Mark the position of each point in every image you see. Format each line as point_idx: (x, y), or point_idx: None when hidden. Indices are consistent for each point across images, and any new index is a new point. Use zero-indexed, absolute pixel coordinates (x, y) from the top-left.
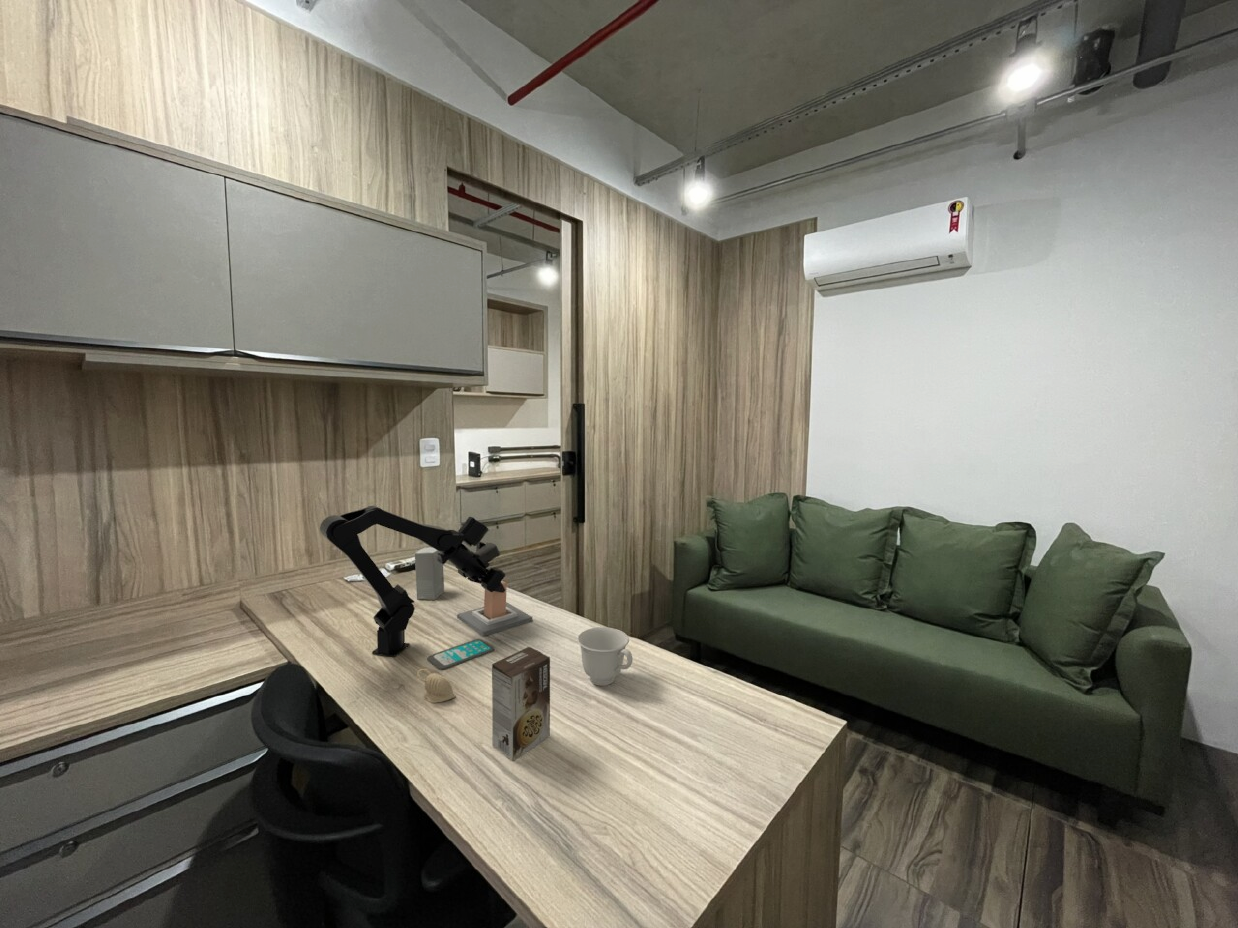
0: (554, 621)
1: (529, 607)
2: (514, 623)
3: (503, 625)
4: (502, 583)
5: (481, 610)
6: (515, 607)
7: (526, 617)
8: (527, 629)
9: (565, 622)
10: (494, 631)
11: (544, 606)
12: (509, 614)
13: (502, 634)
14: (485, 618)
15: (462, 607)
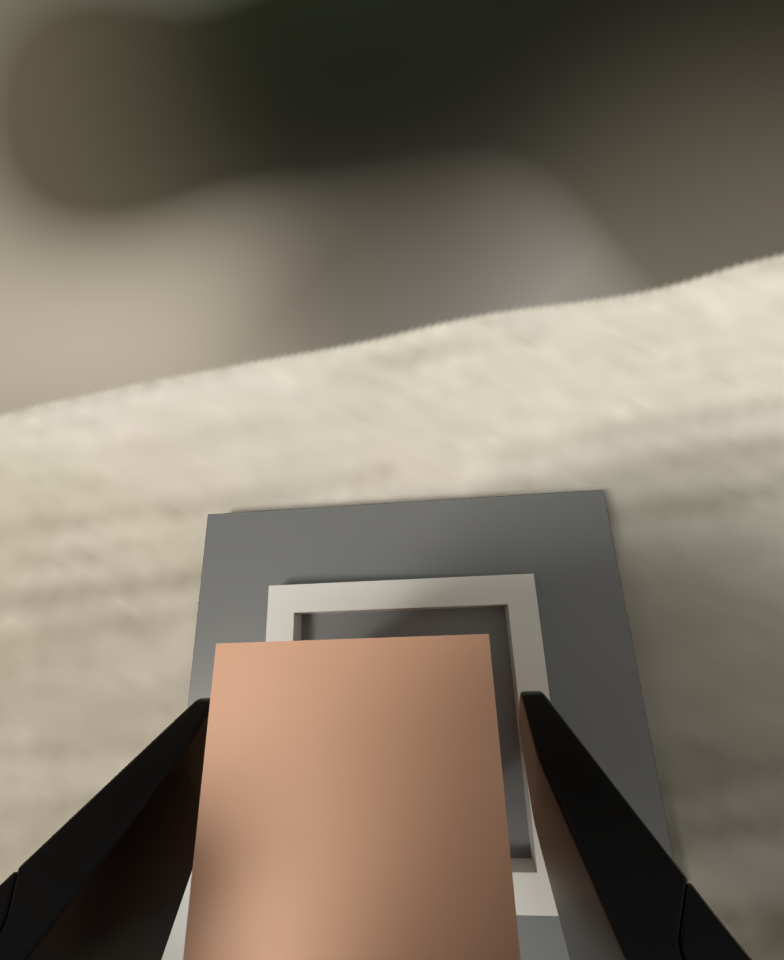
0: (684, 388)
1: (374, 410)
2: (630, 657)
3: (650, 774)
4: (466, 712)
5: None
6: (365, 506)
7: (590, 530)
8: (726, 603)
9: (736, 343)
10: None
11: (420, 331)
12: (524, 642)
13: (727, 827)
14: None
15: (31, 818)
